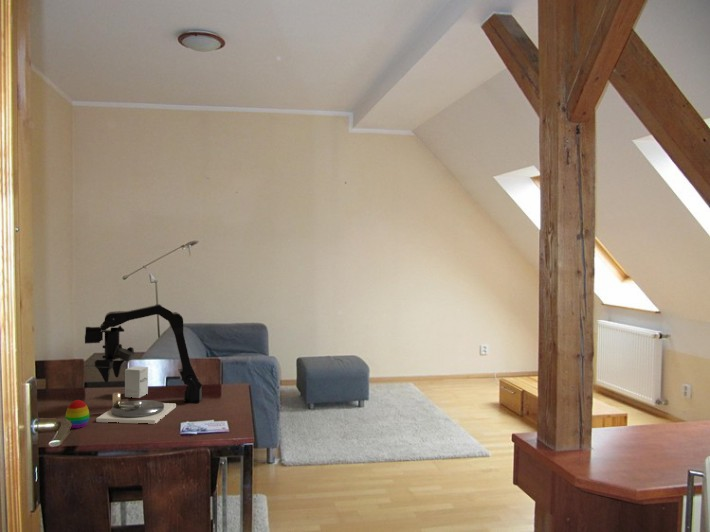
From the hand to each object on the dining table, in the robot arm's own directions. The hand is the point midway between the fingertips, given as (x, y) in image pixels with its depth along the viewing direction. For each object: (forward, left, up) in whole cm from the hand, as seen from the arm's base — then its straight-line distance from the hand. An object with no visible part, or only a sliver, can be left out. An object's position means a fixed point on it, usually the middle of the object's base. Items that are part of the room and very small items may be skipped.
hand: (111, 379), depth 243 cm
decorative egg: (+2, +24, -12) cm, 27 cm away
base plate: (-14, +7, -12) cm, 20 cm away
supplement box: (-2, -20, -12) cm, 24 cm away
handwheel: (-14, +7, -10) cm, 18 cm away
